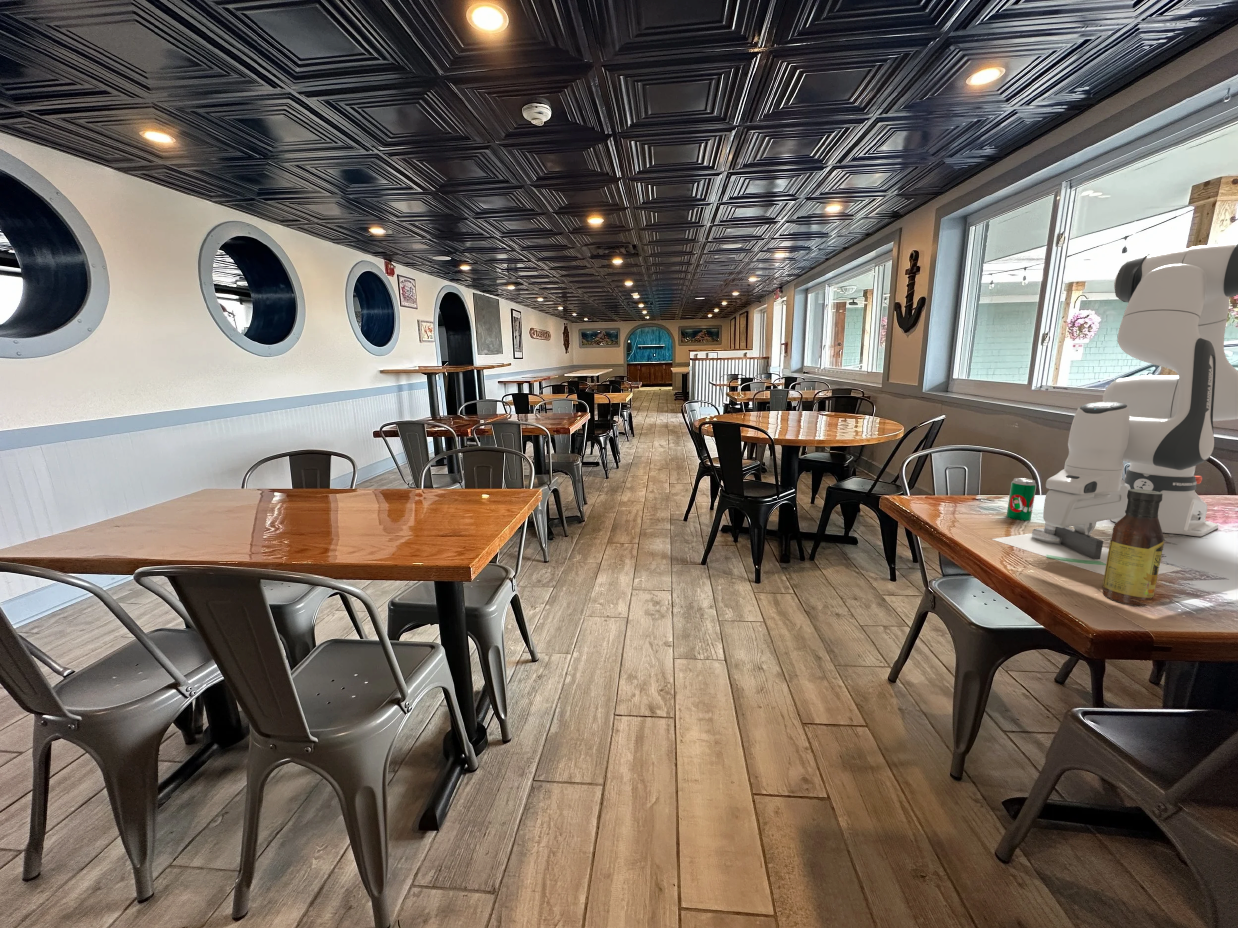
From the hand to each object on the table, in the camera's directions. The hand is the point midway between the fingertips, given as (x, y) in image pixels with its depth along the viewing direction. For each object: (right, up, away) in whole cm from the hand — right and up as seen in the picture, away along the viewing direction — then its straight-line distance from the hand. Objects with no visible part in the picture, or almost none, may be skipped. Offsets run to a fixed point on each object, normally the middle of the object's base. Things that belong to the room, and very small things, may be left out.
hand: (1081, 540), depth 103 cm
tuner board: (-2, -4, -1) cm, 4 cm away
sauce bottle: (-11, -8, -19) cm, 23 cm away
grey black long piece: (-1, -2, +2) cm, 3 cm away
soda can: (+6, +1, +24) cm, 25 cm away
